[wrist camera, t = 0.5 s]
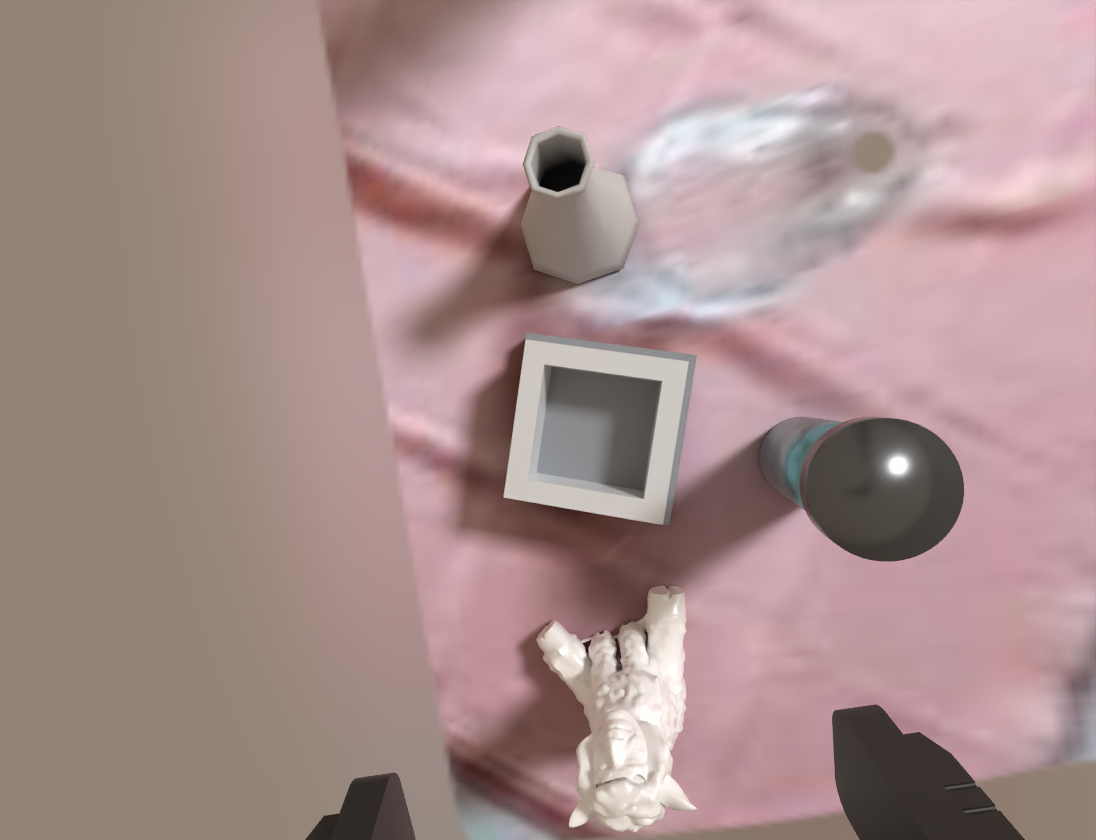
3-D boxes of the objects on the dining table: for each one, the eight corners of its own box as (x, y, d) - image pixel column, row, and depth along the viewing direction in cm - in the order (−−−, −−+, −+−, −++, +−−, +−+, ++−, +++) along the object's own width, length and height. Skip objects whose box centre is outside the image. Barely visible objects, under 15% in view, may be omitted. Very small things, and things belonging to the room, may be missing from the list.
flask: (520, 285, 37) (478, 246, 27) (521, 166, 37) (479, 83, 27) (637, 284, 36) (638, 243, 26) (640, 162, 36) (641, 73, 26)
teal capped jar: (760, 403, 35) (822, 408, 23) (859, 417, 35) (976, 430, 23) (744, 496, 36) (798, 547, 24) (843, 512, 35) (949, 573, 23)
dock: (530, 335, 37) (516, 327, 33) (694, 357, 36) (702, 351, 31) (508, 493, 38) (491, 506, 33) (668, 520, 36) (672, 538, 32)
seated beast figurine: (678, 574, 37) (698, 660, 25) (730, 706, 36) (775, 857, 25) (535, 622, 38) (490, 726, 26) (585, 750, 38) (562, 912, 26)
